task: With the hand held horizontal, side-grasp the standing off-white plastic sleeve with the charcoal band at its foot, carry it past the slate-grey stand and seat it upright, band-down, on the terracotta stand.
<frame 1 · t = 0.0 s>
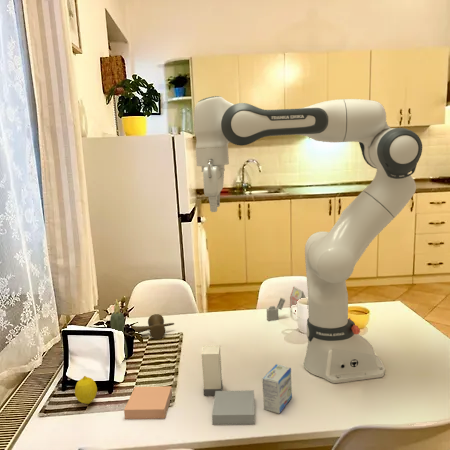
hand: (215, 209, 116), 48 cm above the table, tool pointing down, fingers open, 8 cm apart
slate stand: (234, 411, 103), on the table
banded sleeve: (213, 391, 112), on the table
fruit: (87, 404, 110), on the table
terracotta stand: (149, 406, 107), on the table
medicine box: (278, 404, 105), on the table
lighter: (276, 319, 157), on the table
kendama: (147, 336, 150), on the table
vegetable: (121, 360, 132), on the table
tea bag: (298, 313, 162), on the table
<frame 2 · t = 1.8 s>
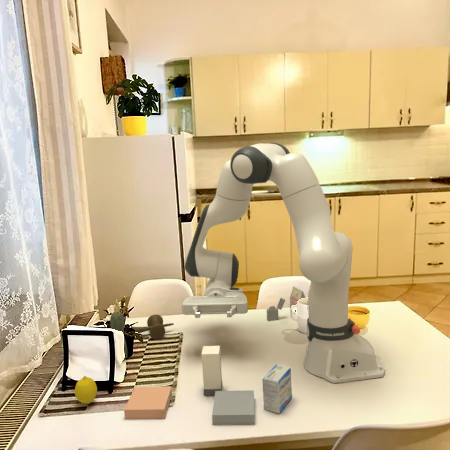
hand: (213, 315, 121), 17 cm above the table, tool horizontal, fingers open, 8 cm apart
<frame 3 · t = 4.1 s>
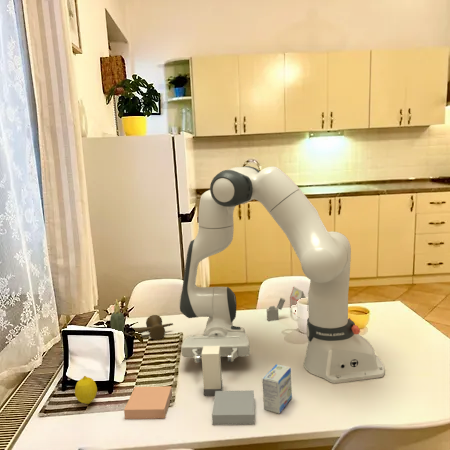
hand: (213, 359, 116), 6 cm above the table, tool horizontal, fingers open, 8 cm apart
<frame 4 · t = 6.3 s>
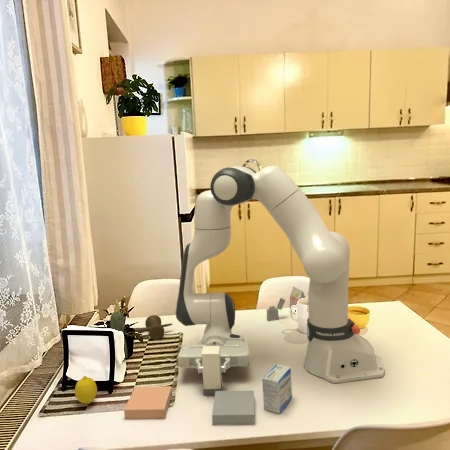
hand: (211, 370, 110), 7 cm above the table, tool horizontal, fingers closed on banded sleeve, 4 cm apart
banded sleeve: (213, 390, 112), on the table, touching gripper
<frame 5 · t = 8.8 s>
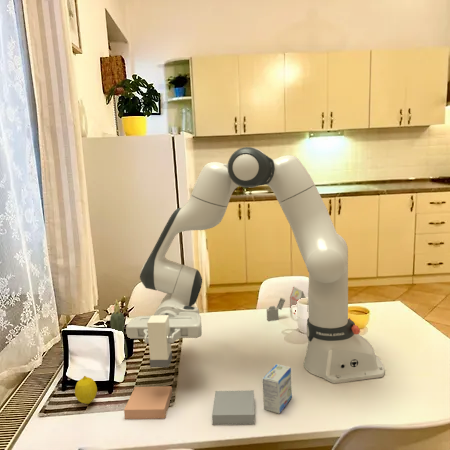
hand: (158, 340, 105), 18 cm above the table, tool horizontal, fingers closed on banded sleeve, 4 cm apart
banded sleeve: (161, 362, 107), point 11 cm above the table, touching gripper
when the fingers open (10 cm above the table, at t = 11.2 s): banded sleeve drops 1 cm, resting on terracotta stand.
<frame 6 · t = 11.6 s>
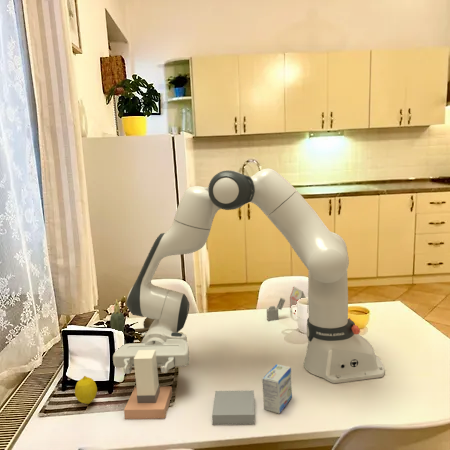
hand: (145, 370, 104), 10 cm above the table, tool horizontal, fingers open, 8 cm apart
banded sleeve: (148, 397, 107), point 2 cm above the table, touching terracotta stand
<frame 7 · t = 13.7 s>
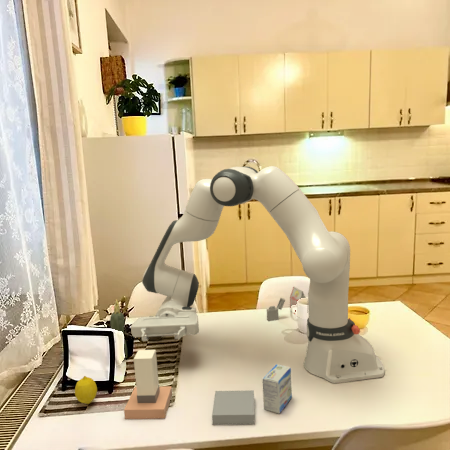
hand: (160, 337, 118), 13 cm above the table, tool horizontal, fingers open, 8 cm apart
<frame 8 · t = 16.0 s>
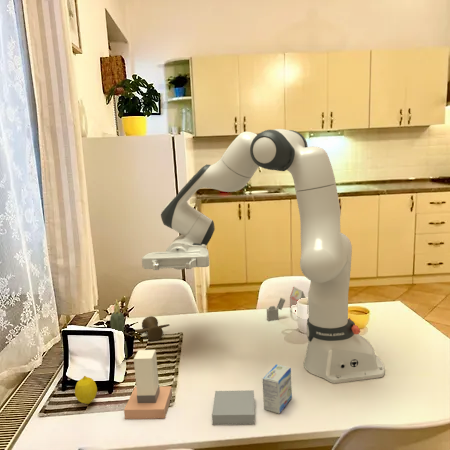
hand: (171, 267, 118), 32 cm above the table, tool horizontal, fingers open, 8 cm apart
at the end: banded sleeve inside the target area on the terracotta stand (0.0 cm from its centre), point 2.5 cm above the terracotta stand's base; banded sleeve tilted 0°; the gripper is holding nothing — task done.
